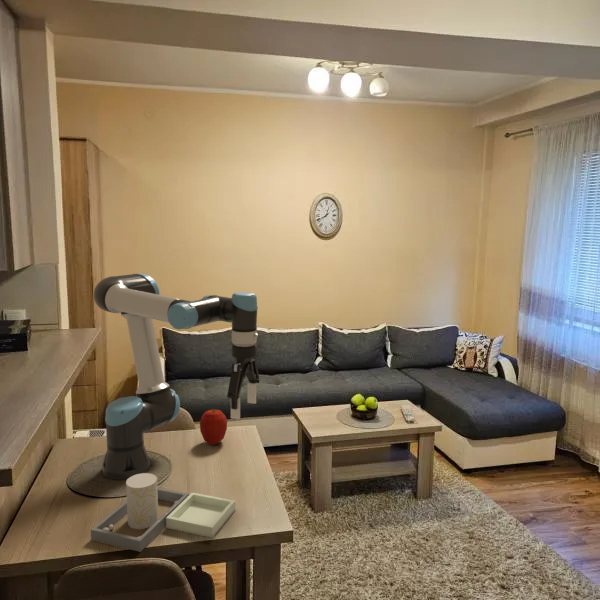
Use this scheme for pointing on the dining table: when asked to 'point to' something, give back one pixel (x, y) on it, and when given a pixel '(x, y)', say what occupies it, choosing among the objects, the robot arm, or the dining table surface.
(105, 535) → the gravel bin
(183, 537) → the dining table surface
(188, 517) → the sage tray
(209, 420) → the apple
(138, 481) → the cup
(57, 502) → the dining table surface
